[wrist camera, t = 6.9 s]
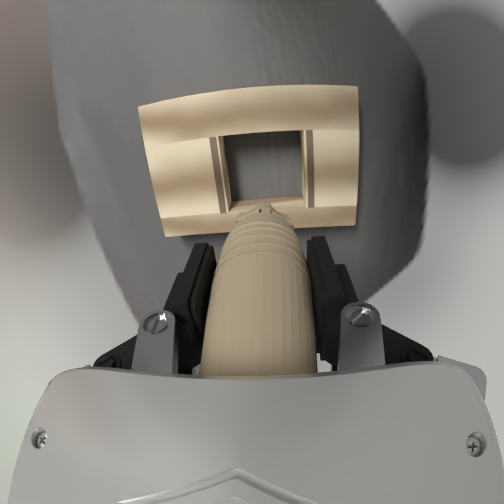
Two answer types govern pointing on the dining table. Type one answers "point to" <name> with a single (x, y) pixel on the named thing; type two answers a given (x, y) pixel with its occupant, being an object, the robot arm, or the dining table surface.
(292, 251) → the handle
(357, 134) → the board
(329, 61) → the dining table surface
